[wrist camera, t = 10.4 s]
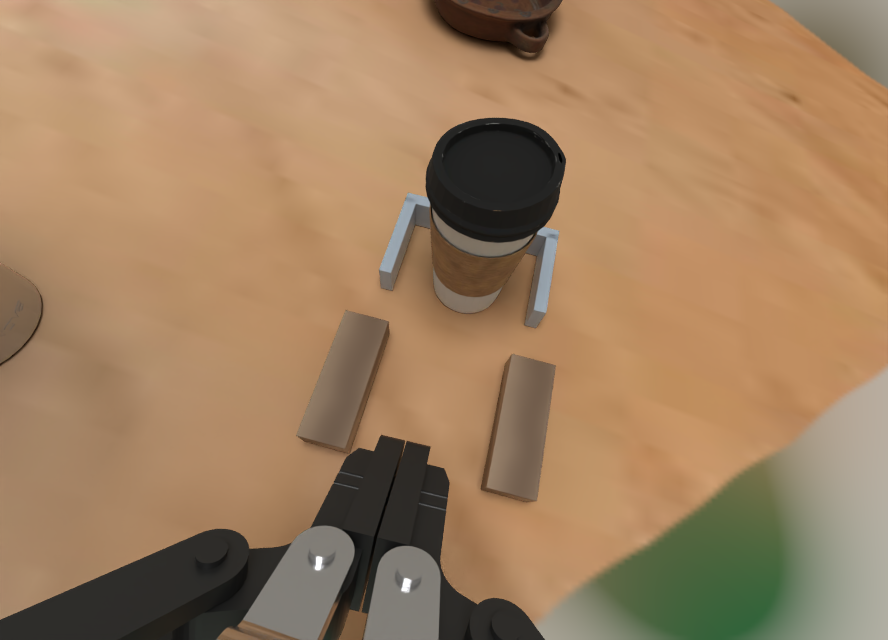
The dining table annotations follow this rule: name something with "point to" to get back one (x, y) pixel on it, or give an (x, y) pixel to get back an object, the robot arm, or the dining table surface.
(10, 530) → the dining table surface
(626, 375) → the dining table surface
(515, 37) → the dish
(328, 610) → the robot arm
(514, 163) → the coffee cup
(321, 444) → the clamp blocks
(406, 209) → the corral
